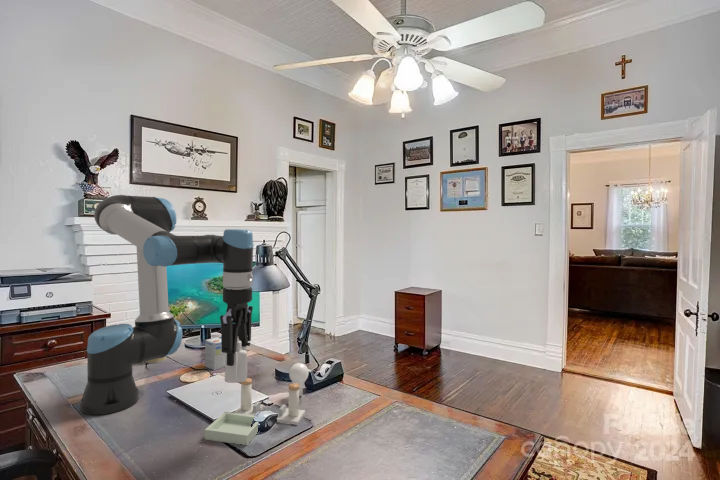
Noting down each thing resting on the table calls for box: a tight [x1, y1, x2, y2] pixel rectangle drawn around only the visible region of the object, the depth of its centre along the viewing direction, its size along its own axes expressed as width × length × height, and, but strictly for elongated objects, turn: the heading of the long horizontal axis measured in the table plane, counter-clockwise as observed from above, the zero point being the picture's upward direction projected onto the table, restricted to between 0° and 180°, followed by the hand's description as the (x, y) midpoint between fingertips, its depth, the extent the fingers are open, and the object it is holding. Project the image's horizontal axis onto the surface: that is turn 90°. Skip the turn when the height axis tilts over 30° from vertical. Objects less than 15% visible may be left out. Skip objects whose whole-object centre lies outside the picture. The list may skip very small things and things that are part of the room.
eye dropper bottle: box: [224, 337, 248, 384], centre depth 105 cm, size 4×6×12 cm
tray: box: [204, 411, 259, 446], centre depth 106 cm, size 12×10×3 cm
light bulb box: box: [204, 335, 226, 371], centre depth 154 cm, size 11×7×11 cm, turn 144°
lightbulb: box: [288, 362, 310, 398], centre depth 128 cm, size 6×6×11 cm
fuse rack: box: [233, 377, 306, 426], centre depth 116 cm, size 20×7×10 cm, turn 79°
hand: (236, 372), depth 105 cm, fingers closed on eye dropper bottle, 4 cm apart
